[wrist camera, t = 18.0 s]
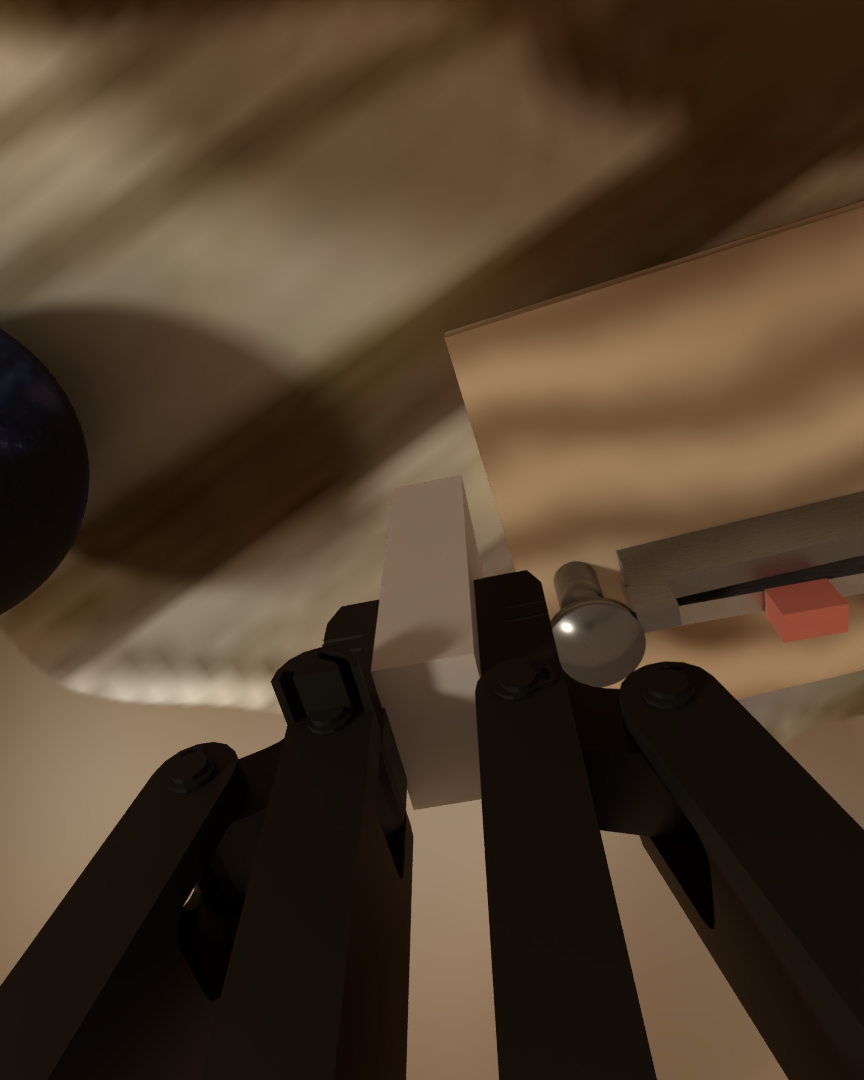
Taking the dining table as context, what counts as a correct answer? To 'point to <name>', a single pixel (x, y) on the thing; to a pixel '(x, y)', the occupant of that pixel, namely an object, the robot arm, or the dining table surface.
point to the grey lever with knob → (698, 580)
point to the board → (681, 422)
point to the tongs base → (718, 603)
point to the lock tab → (806, 610)
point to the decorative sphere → (36, 473)
